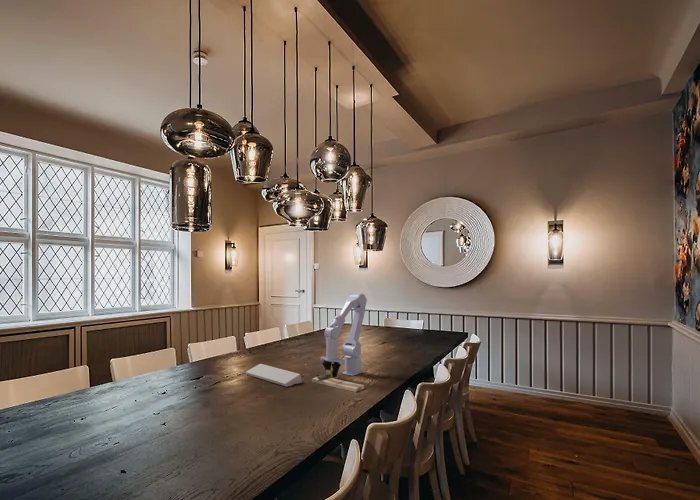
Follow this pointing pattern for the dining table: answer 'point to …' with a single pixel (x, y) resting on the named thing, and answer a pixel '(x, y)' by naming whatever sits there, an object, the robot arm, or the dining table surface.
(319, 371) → the dining table surface
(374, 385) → the dining table surface
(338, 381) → the maple board
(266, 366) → the decorative molding
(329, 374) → the marking gauge
